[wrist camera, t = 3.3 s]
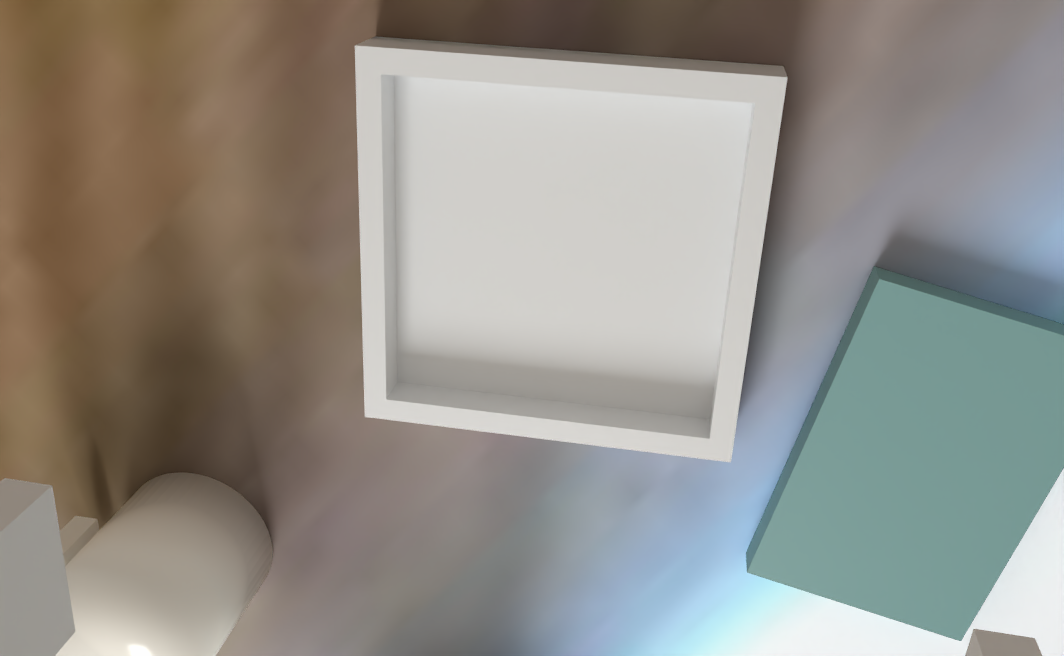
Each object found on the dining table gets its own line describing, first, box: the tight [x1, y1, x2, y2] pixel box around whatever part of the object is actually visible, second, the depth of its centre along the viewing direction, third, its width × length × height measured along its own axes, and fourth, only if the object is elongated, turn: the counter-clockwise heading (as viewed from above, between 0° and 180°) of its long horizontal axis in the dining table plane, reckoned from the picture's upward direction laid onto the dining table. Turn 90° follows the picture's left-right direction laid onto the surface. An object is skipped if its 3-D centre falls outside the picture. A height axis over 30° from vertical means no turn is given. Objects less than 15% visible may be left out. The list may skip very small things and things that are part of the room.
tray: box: [355, 36, 788, 462], centre depth 41 cm, size 16×16×2 cm
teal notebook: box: [746, 266, 1064, 641], centre depth 43 cm, size 10×15×2 cm, turn 165°
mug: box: [55, 472, 273, 656], centre depth 49 cm, size 10×8×8 cm
